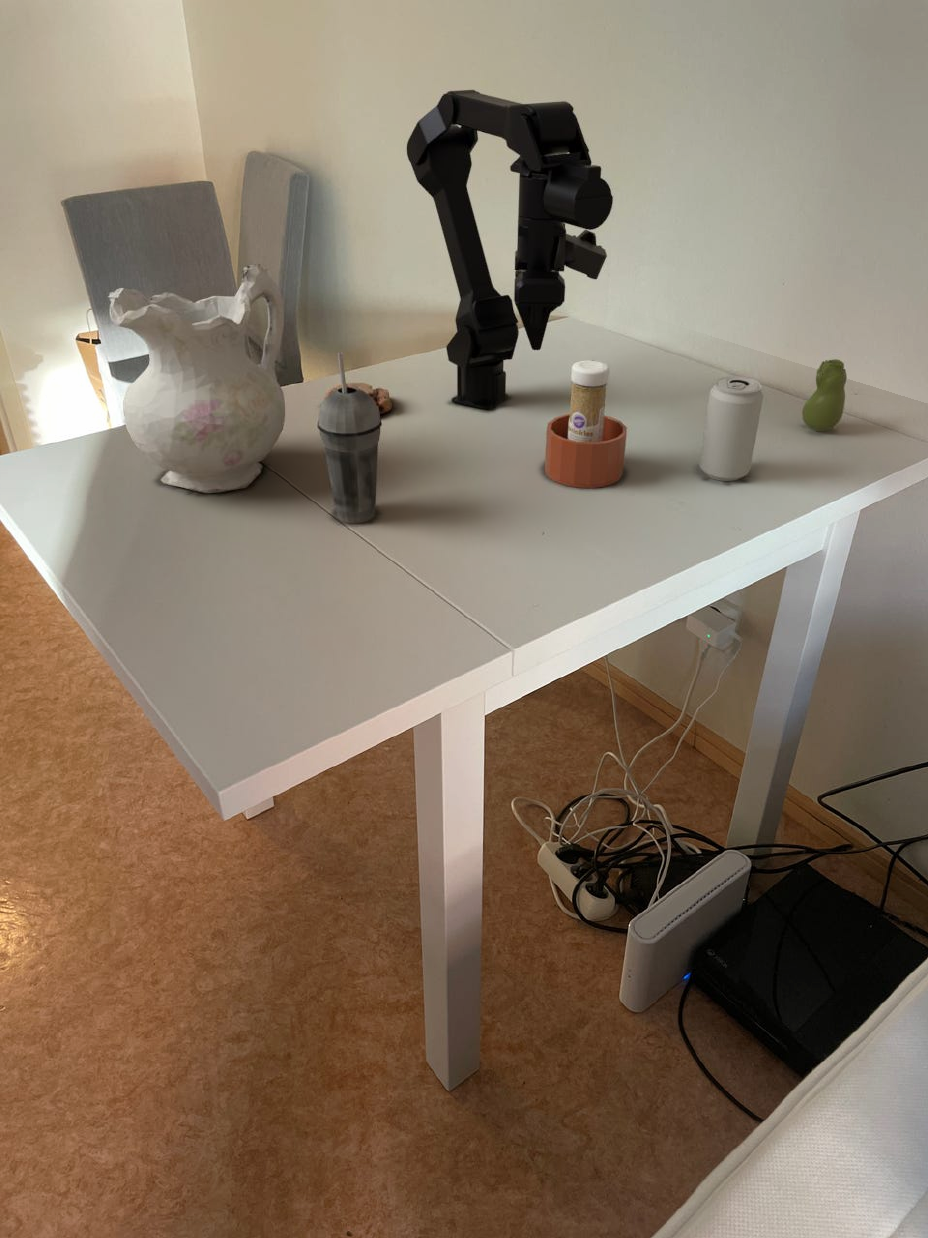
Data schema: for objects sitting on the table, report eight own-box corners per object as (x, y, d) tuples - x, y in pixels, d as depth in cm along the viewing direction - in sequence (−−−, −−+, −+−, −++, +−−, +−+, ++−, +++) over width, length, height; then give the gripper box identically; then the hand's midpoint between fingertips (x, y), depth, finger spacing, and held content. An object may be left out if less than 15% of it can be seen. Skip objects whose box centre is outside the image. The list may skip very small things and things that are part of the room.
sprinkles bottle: (561, 470, 124) (567, 368, 117) (570, 456, 128) (577, 357, 120) (595, 475, 123) (604, 373, 115) (604, 461, 126) (613, 361, 119)
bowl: (531, 476, 124) (533, 433, 120) (565, 449, 131) (568, 407, 127) (603, 494, 119) (607, 449, 116) (634, 465, 127) (638, 422, 123)
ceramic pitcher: (237, 436, 137) (201, 253, 124) (339, 459, 127) (311, 262, 114) (112, 491, 123) (57, 290, 110) (216, 522, 112) (168, 305, 100)
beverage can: (753, 467, 126) (769, 378, 119) (743, 487, 121) (759, 395, 115) (704, 458, 128) (718, 371, 122) (693, 477, 123) (706, 387, 117)
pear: (833, 439, 134) (849, 369, 128) (794, 432, 136) (809, 362, 130) (842, 426, 138) (857, 357, 132) (804, 419, 140) (818, 351, 134)
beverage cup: (395, 506, 117) (388, 342, 106) (371, 533, 111) (361, 363, 100) (341, 497, 119) (328, 336, 108) (314, 523, 113) (298, 356, 102)
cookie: (337, 392, 149) (336, 373, 147) (402, 399, 146) (402, 380, 145) (312, 416, 141) (310, 396, 139) (380, 423, 138) (379, 403, 137)
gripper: (611, 232, 113) (600, 362, 121) (600, 201, 128) (591, 319, 137) (516, 231, 113) (512, 361, 122) (516, 200, 129) (513, 317, 137)
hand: (535, 338), depth 129 cm, fingers open, 9 cm apart
